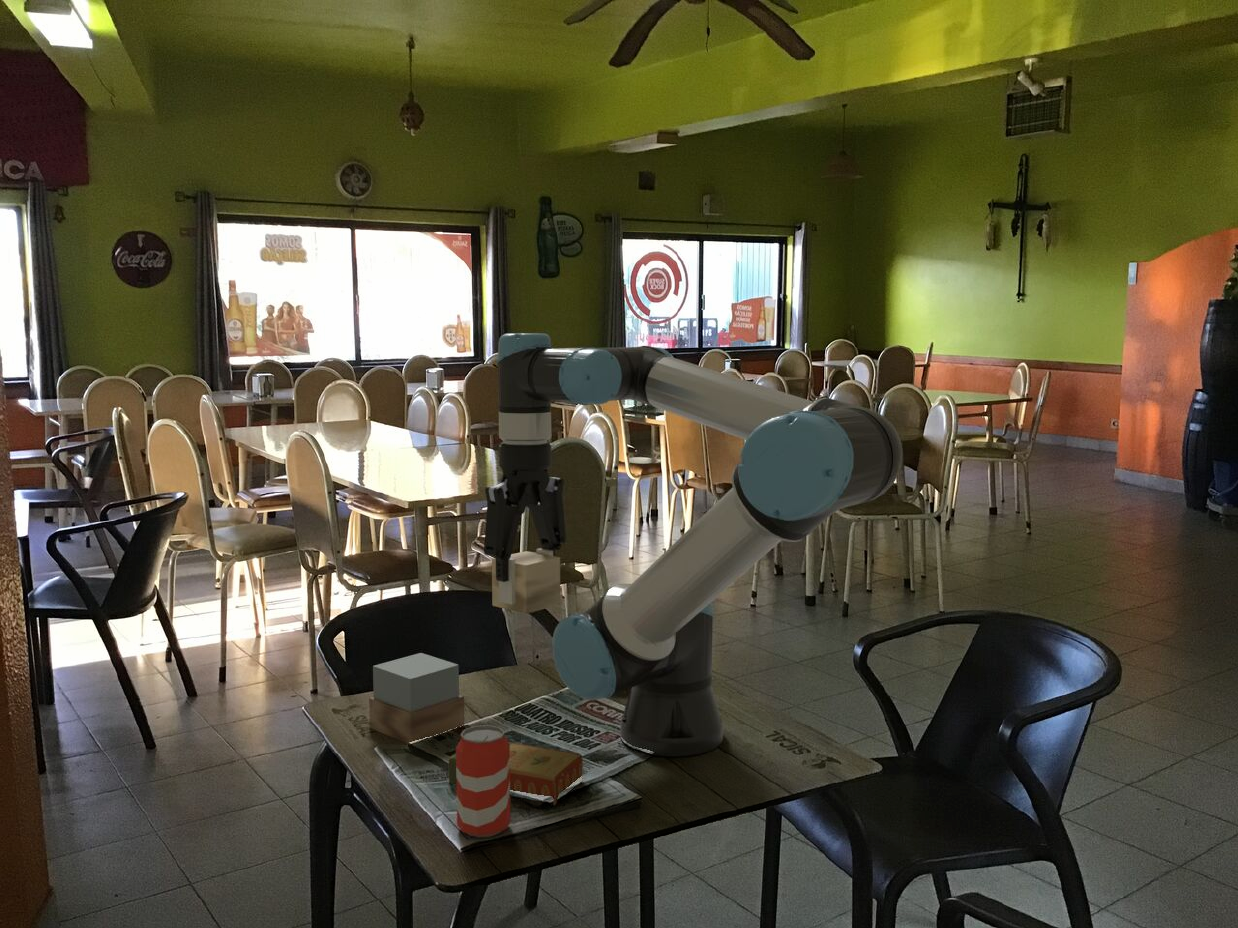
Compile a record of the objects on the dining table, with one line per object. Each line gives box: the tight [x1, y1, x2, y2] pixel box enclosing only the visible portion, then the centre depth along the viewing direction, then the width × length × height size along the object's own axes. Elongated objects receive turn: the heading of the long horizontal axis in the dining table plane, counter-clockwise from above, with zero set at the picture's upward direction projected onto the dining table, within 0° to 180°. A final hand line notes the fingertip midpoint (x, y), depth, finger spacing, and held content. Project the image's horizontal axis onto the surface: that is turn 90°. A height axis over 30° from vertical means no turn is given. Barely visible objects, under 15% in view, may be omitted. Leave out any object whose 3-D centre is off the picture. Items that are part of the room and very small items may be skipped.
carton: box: [447, 741, 584, 806], centre depth 145 cm, size 8×16×4 cm, turn 66°
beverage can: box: [455, 724, 511, 839], centre depth 131 cm, size 6×6×12 cm
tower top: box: [372, 652, 460, 712], centre depth 164 cm, size 9×9×5 cm
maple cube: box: [491, 550, 561, 615], centre depth 159 cm, size 7×7×7 cm
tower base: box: [368, 694, 465, 744], centre depth 165 cm, size 10×10×5 cm
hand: (526, 597), depth 159 cm, fingers closed on maple cube, 7 cm apart
